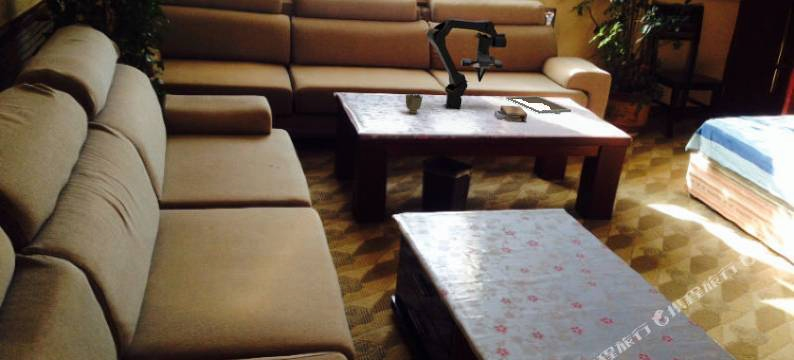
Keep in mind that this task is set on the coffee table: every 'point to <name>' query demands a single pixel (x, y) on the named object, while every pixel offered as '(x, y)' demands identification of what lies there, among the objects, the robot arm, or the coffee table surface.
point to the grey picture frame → (536, 99)
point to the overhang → (514, 112)
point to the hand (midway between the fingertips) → (479, 81)
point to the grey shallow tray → (504, 115)
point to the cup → (413, 102)
